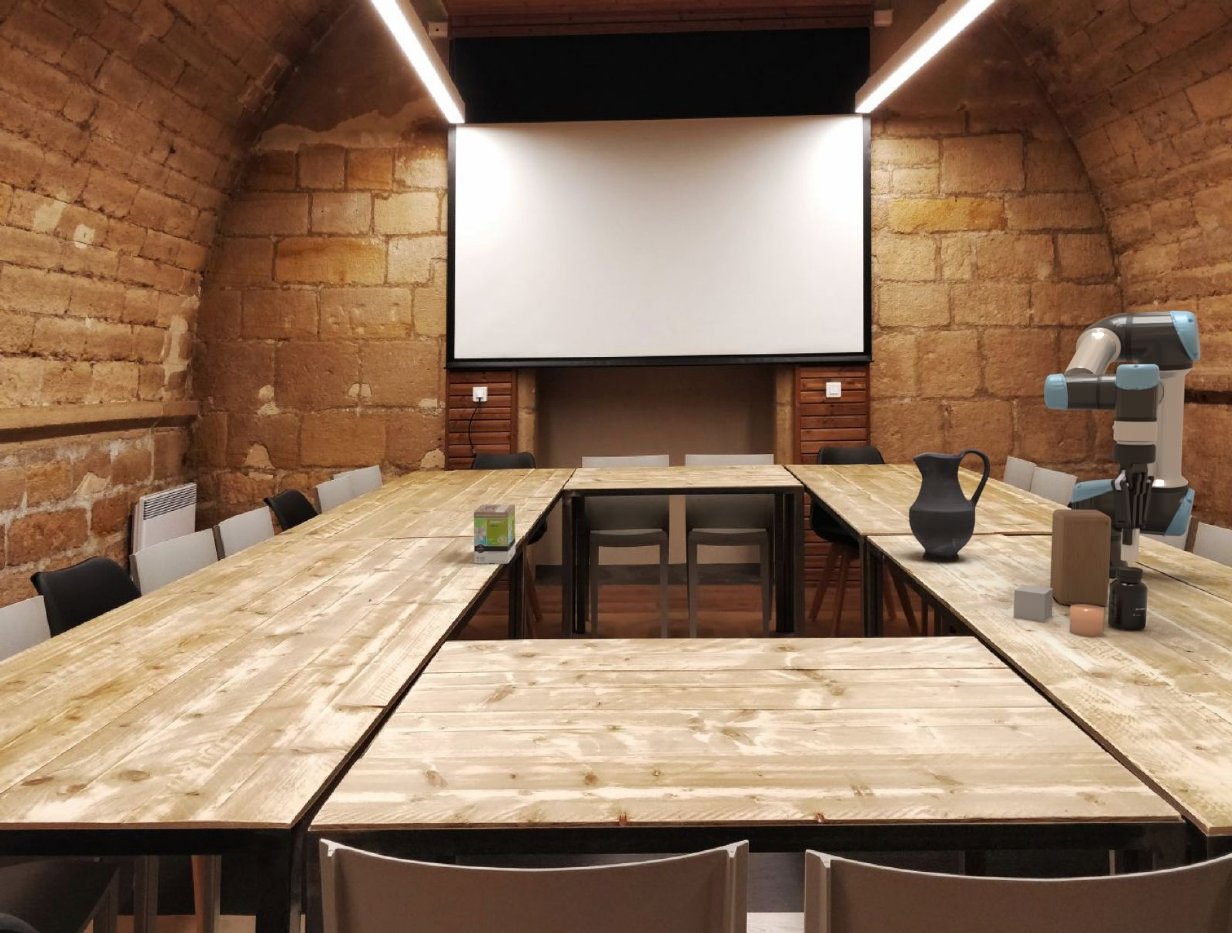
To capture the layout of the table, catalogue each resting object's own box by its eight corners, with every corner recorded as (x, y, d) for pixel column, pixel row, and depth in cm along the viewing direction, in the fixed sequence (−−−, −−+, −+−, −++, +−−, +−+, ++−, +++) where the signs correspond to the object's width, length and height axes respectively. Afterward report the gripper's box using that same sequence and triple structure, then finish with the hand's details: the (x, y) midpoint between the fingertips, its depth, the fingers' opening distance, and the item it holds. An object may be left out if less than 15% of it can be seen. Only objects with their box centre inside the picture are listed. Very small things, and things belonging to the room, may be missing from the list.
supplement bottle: (1144, 633, 189) (1147, 573, 188) (1106, 628, 193) (1108, 569, 192) (1147, 625, 195) (1149, 566, 194) (1109, 620, 199) (1111, 563, 197)
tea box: (510, 564, 264) (508, 510, 263) (473, 564, 265) (471, 511, 263) (516, 553, 279) (515, 503, 278) (481, 553, 280) (480, 503, 278)
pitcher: (903, 552, 273) (905, 446, 269) (980, 552, 270) (983, 446, 267) (913, 564, 256) (916, 452, 252) (995, 565, 253) (998, 451, 249)
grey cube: (1022, 612, 207) (1023, 584, 206) (1052, 616, 203) (1052, 588, 202) (1013, 618, 202) (1014, 589, 202) (1043, 622, 198) (1044, 593, 198)
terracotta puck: (1079, 626, 195) (1080, 602, 194) (1109, 633, 190) (1110, 608, 189) (1063, 632, 191) (1064, 607, 191) (1093, 638, 186) (1094, 613, 186)
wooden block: (1109, 607, 209) (1112, 516, 207) (1059, 605, 211) (1062, 515, 209) (1095, 596, 219) (1099, 509, 217) (1048, 594, 221) (1051, 508, 219)
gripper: (1131, 440, 197) (1126, 553, 199) (1098, 443, 189) (1094, 561, 191) (1170, 442, 191) (1164, 559, 193) (1137, 445, 183) (1132, 567, 185)
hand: (1129, 560), depth 192 cm, fingers closed
